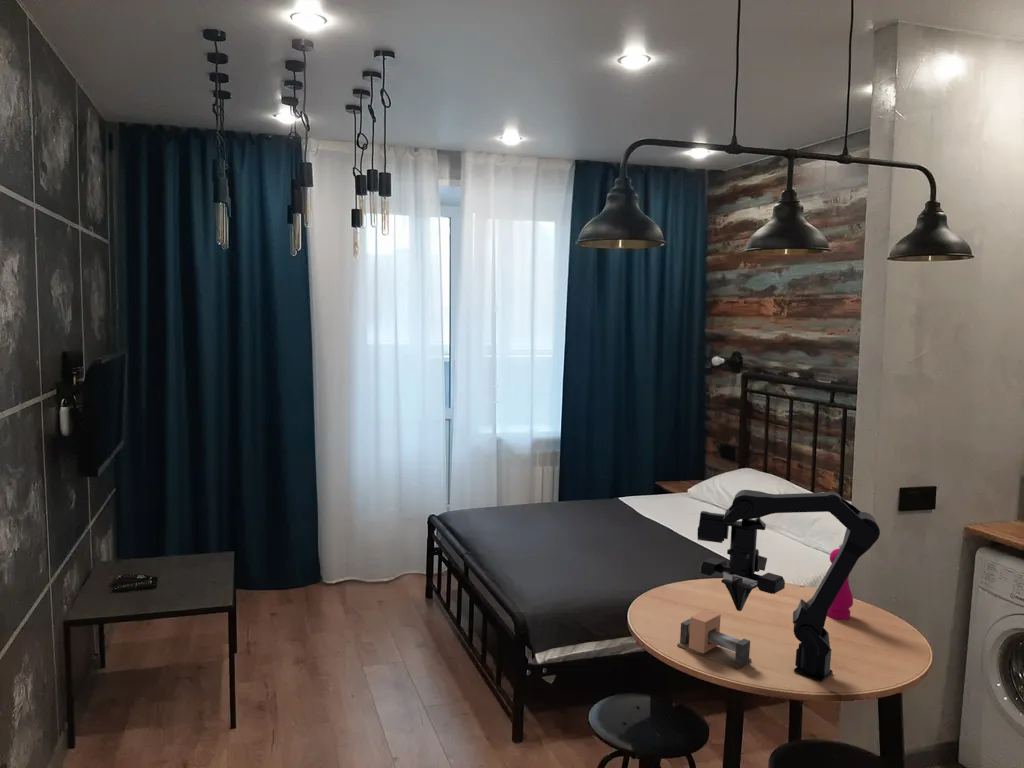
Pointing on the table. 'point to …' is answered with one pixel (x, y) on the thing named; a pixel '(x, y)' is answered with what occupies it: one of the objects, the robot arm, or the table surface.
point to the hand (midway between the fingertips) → (739, 610)
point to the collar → (703, 630)
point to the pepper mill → (841, 597)
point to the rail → (719, 653)
